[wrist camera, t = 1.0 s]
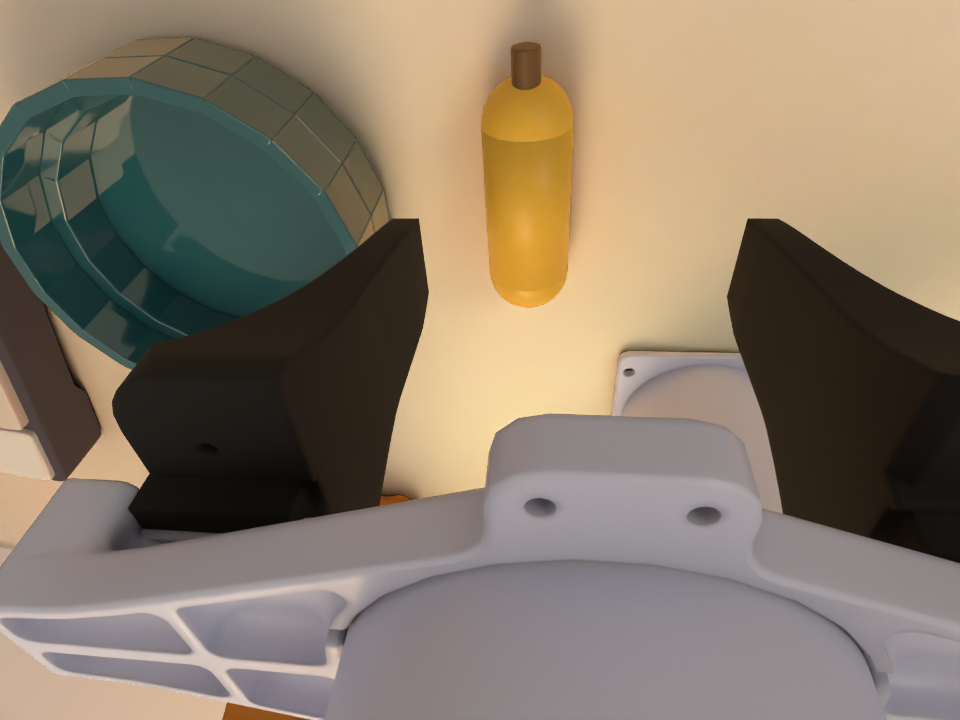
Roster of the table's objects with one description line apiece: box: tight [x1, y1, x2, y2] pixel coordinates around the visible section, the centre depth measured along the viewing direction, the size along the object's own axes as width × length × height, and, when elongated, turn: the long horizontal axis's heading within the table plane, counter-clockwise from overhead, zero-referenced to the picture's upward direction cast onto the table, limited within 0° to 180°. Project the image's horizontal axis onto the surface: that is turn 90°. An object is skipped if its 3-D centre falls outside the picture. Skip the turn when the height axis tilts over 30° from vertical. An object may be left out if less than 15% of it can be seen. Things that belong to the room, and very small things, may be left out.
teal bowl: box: [0, 37, 389, 370], centre depth 23 cm, size 13×13×4 cm
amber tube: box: [481, 42, 574, 308], centre depth 21 cm, size 10×3×3 cm, turn 4°
